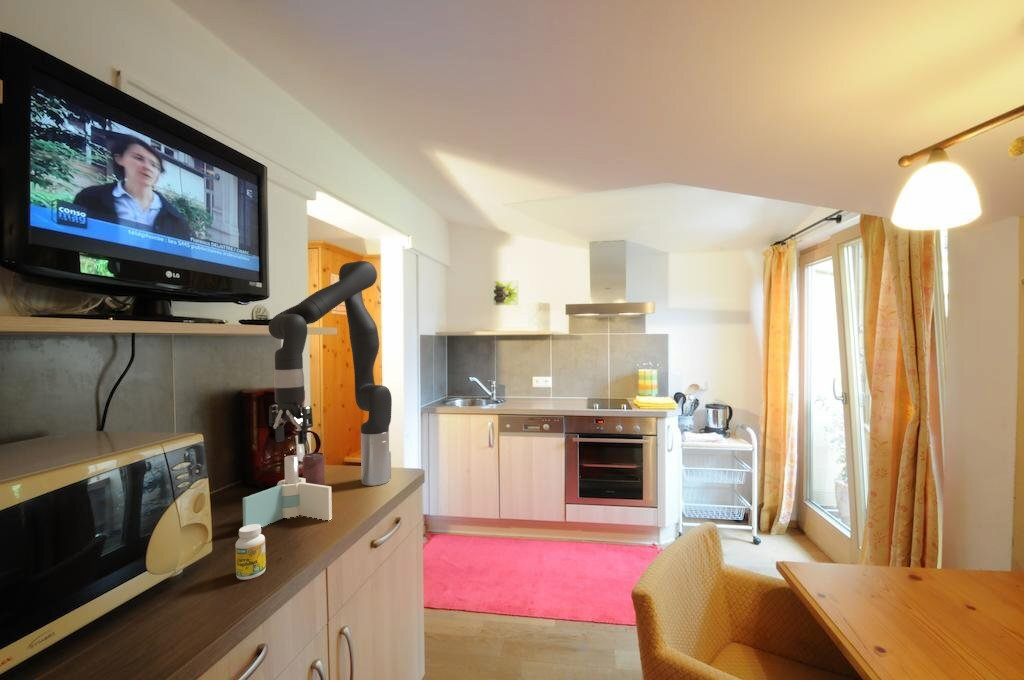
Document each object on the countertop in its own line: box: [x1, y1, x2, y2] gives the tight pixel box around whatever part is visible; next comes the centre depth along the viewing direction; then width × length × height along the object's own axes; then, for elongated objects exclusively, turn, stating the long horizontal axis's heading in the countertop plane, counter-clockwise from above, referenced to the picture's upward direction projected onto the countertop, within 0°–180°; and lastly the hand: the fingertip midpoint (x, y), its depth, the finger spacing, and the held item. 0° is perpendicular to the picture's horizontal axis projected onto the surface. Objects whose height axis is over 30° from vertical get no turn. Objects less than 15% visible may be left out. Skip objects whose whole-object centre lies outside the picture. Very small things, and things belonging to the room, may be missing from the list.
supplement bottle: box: [234, 524, 267, 581], centre depth 92 cm, size 5×5×10 cm
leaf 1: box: [242, 485, 300, 528], centre depth 120 cm, size 18×7×9 cm, turn 157°
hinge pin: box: [284, 454, 300, 485], centre depth 125 cm, size 4×4×16 cm
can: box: [302, 452, 326, 486], centre depth 135 cm, size 6×6×14 cm
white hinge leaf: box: [276, 477, 333, 522], centre depth 123 cm, size 7×18×9 cm, turn 67°
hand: (291, 442), depth 125 cm, fingers open, 8 cm apart
